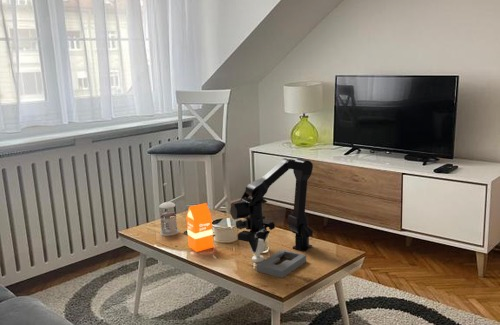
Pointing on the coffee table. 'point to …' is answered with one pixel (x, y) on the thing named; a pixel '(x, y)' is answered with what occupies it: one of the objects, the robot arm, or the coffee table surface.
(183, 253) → the coffee table surface
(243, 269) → the coffee table surface
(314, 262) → the coffee table surface
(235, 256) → the coffee table surface
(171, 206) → the french press
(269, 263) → the keyhole board
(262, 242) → the keyhole peg
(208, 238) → the orange juice
